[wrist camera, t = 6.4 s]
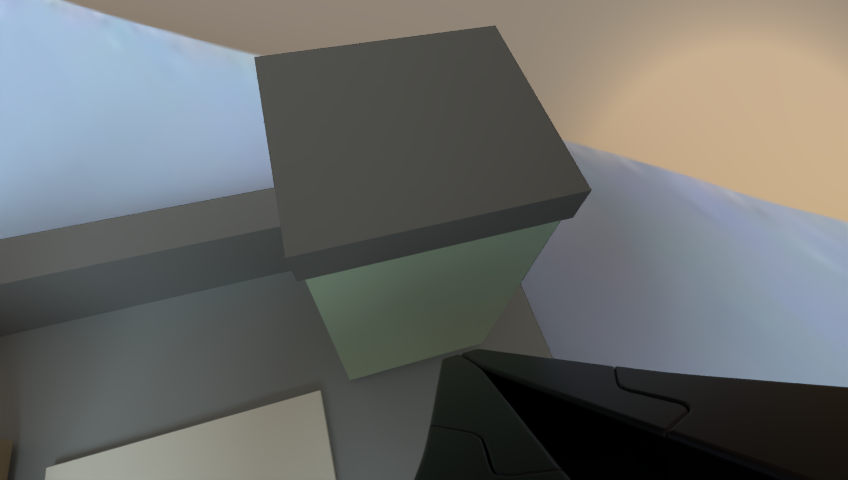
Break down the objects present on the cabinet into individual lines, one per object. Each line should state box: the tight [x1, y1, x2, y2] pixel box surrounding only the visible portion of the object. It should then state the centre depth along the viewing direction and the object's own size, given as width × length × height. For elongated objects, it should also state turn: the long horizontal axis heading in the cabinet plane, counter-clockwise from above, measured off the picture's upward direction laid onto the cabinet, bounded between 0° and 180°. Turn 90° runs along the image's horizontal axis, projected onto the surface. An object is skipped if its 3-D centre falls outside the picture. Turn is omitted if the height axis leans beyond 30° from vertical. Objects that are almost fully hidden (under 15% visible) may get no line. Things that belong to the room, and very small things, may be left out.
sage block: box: [254, 26, 591, 380], centre depth 11 cm, size 4×5×9 cm
